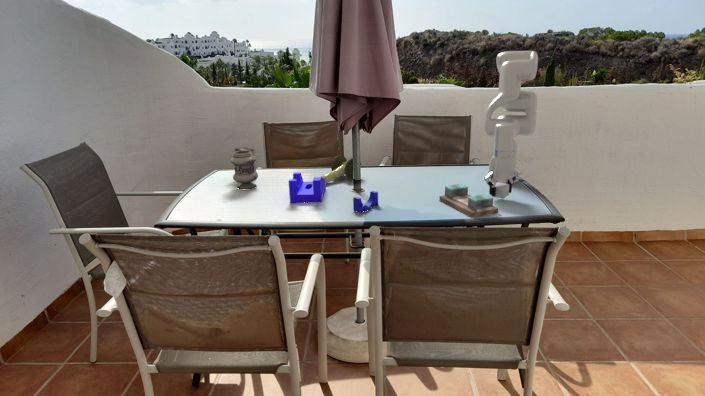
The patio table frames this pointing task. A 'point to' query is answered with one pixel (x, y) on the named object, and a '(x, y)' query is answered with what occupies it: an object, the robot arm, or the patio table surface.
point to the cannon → (340, 169)
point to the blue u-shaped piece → (370, 203)
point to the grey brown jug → (247, 149)
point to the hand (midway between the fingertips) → (500, 193)
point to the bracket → (306, 189)
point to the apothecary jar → (244, 169)
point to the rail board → (466, 210)
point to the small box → (501, 190)
